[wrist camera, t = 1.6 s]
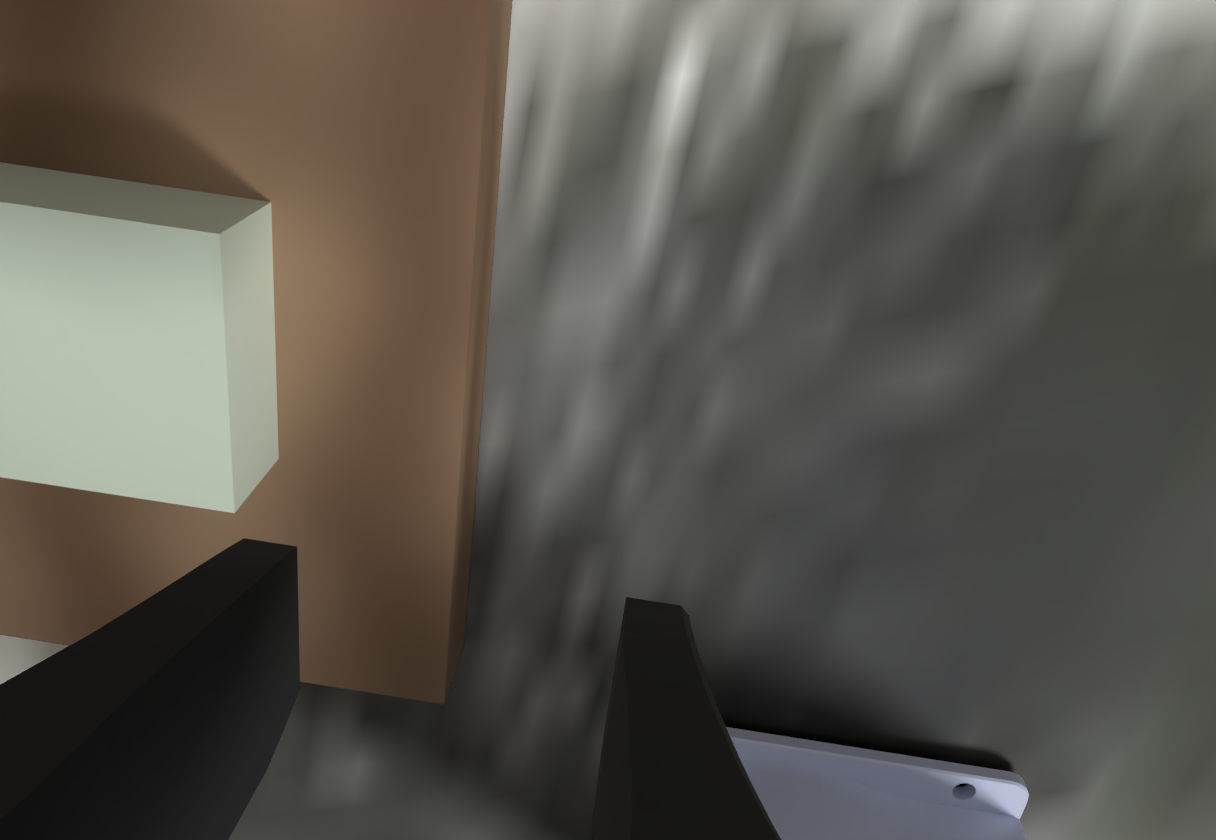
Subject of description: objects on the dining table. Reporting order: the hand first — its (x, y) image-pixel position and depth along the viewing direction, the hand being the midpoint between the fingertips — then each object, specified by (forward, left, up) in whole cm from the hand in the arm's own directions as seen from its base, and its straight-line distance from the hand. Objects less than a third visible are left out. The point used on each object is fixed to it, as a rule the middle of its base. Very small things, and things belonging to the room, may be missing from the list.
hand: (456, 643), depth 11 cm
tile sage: (+8, 0, -7) cm, 11 cm away
